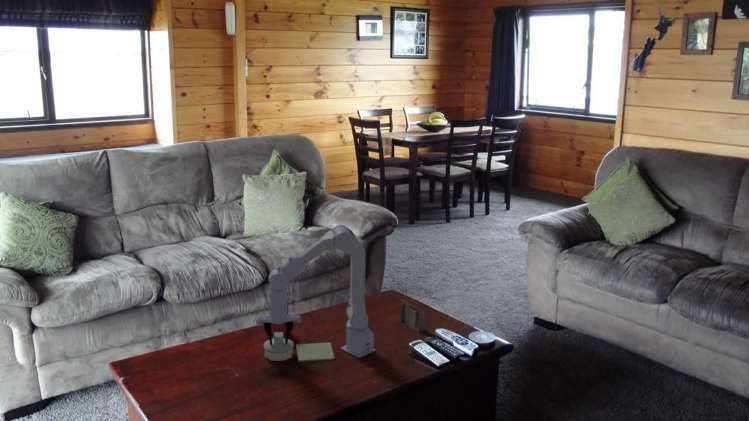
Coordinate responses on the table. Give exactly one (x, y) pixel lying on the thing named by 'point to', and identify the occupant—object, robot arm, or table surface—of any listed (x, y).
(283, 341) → the lid
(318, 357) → the mat
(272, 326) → the beer can
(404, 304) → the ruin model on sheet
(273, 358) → the bowl
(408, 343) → the table surface
